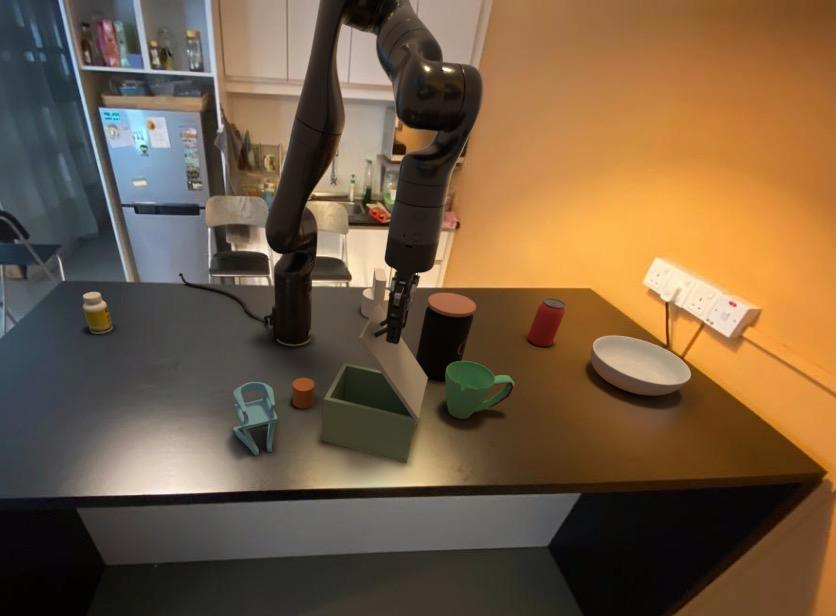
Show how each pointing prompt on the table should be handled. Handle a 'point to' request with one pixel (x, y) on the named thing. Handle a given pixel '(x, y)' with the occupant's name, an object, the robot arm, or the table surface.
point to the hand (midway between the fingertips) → (395, 333)
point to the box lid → (394, 362)
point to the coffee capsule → (303, 393)
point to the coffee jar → (444, 332)
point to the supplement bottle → (97, 313)
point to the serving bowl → (638, 365)
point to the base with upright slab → (375, 294)
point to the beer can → (546, 322)
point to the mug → (472, 388)
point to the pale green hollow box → (367, 414)
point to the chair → (255, 414)
